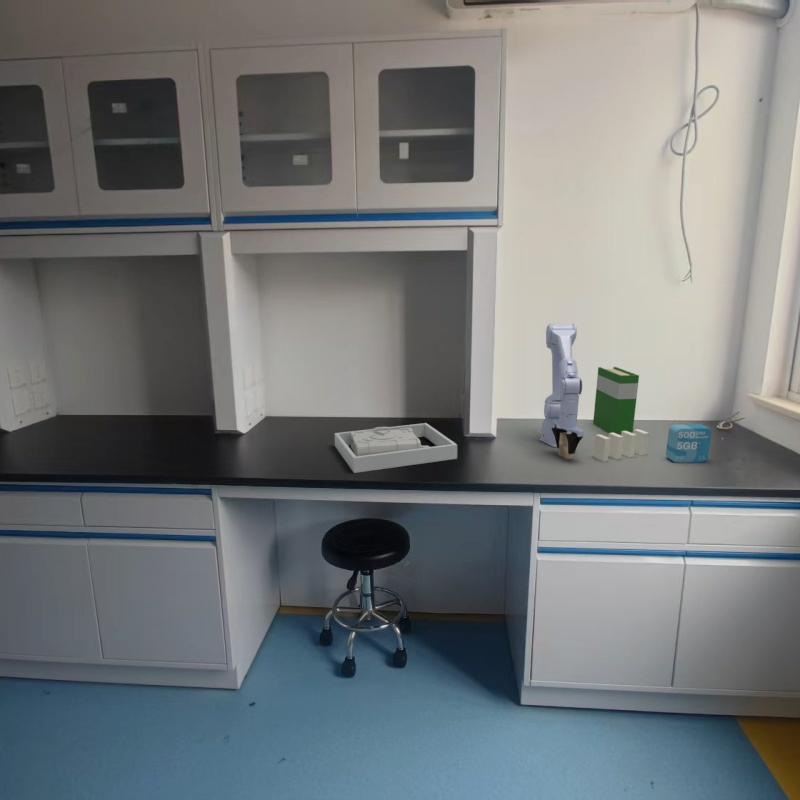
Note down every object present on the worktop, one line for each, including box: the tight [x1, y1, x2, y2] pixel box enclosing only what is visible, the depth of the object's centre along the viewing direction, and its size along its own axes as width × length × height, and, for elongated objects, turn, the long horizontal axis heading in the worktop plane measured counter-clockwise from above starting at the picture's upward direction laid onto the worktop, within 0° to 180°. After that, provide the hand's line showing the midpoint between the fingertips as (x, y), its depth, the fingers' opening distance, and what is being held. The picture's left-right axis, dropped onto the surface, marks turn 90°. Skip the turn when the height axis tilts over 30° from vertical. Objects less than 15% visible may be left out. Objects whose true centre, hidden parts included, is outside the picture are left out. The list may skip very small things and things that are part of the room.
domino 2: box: [593, 433, 610, 463], centre depth 173 cm, size 5×2×8 cm, turn 20°
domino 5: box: [633, 428, 650, 456], centre depth 179 cm, size 5×2×8 cm, turn 20°
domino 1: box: [558, 432, 573, 460], centre depth 175 cm, size 5×2×8 cm, turn 20°
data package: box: [665, 423, 712, 463], centre depth 171 cm, size 12×4×12 cm, turn 91°
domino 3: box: [607, 433, 623, 461], centre depth 175 cm, size 5×2×8 cm, turn 20°
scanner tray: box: [334, 422, 458, 474], centre depth 181 cm, size 27×36×5 cm
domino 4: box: [621, 431, 636, 458], centre depth 177 cm, size 5×2×8 cm, turn 20°
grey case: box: [350, 426, 430, 456], centre depth 182 cm, size 19×28×8 cm
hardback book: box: [592, 366, 640, 435], centre depth 203 cm, size 18×7×24 cm, turn 5°
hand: (565, 450), depth 176 cm, fingers open, 6 cm apart
